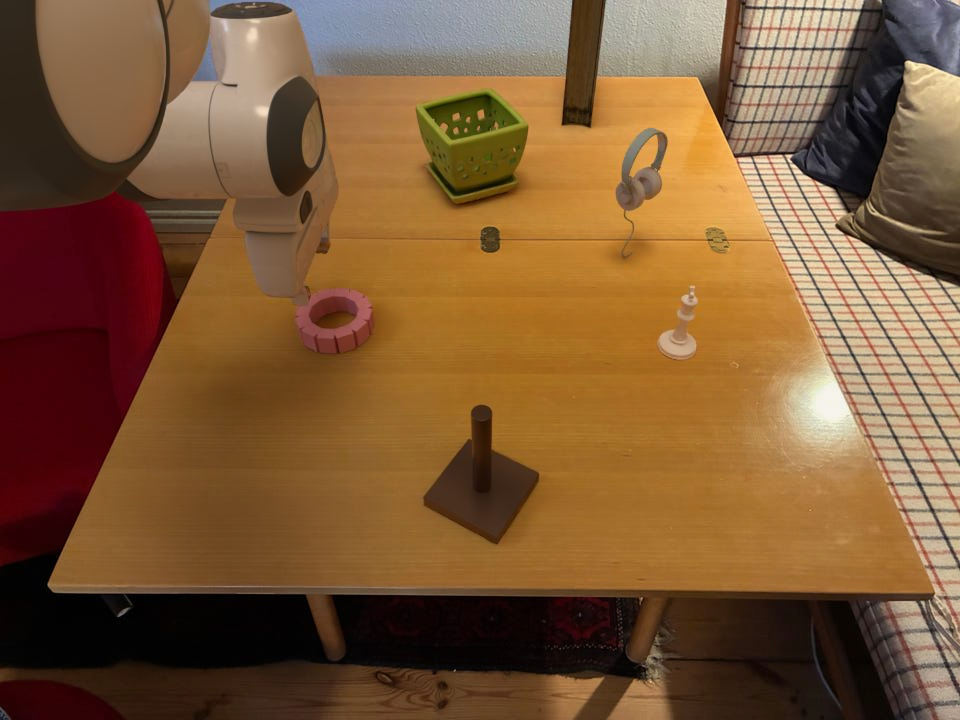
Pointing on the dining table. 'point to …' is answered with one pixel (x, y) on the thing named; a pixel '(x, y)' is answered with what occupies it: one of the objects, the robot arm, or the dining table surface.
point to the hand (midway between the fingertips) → (312, 274)
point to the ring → (338, 337)
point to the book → (582, 60)
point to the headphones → (640, 175)
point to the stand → (481, 483)
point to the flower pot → (473, 144)
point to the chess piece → (680, 331)
